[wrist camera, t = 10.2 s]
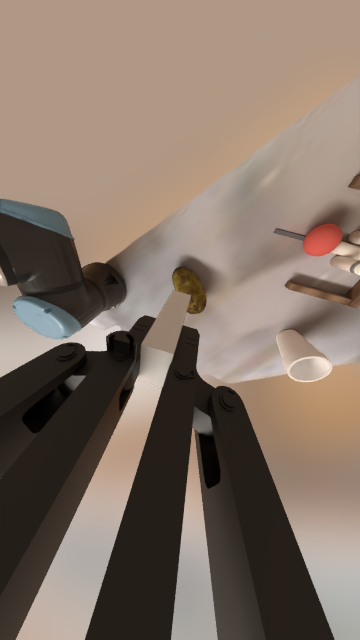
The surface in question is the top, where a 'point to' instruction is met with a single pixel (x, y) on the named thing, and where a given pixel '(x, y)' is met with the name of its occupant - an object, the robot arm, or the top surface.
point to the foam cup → (302, 357)
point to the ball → (322, 240)
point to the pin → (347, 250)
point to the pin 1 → (346, 264)
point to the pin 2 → (354, 237)
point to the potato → (190, 289)
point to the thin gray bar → (289, 234)
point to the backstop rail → (353, 298)
